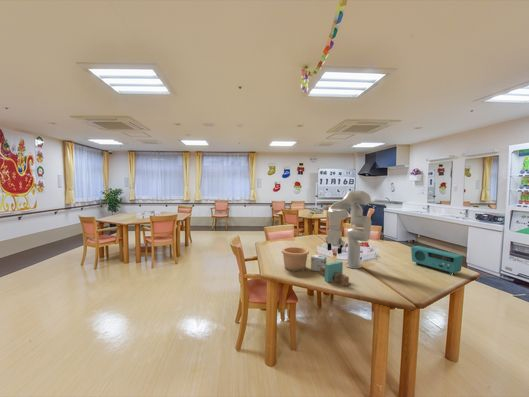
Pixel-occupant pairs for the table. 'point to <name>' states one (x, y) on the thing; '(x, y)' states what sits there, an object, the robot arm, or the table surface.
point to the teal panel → (332, 270)
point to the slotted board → (337, 277)
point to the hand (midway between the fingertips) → (334, 251)
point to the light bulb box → (317, 262)
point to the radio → (437, 258)
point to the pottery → (295, 258)
